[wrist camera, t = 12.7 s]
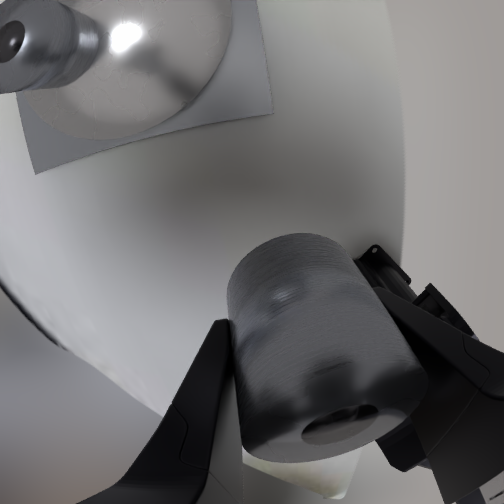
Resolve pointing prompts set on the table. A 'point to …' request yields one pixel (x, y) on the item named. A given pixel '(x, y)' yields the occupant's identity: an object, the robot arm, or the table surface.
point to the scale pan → (138, 66)
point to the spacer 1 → (43, 45)
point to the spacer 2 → (315, 353)
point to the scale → (193, 114)
